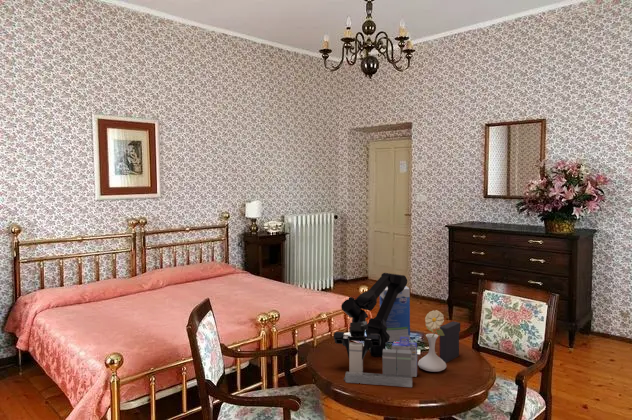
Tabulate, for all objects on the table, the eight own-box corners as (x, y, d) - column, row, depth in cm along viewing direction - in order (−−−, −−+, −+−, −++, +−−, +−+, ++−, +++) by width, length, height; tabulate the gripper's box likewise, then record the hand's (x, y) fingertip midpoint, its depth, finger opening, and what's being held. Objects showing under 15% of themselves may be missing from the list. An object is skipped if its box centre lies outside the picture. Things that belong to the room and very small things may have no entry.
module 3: (397, 380, 183) (397, 349, 182) (411, 381, 182) (411, 350, 181) (397, 384, 180) (397, 352, 179) (411, 385, 179) (410, 353, 178)
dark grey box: (451, 354, 209) (451, 320, 209) (460, 356, 206) (460, 322, 205) (438, 360, 202) (438, 326, 201) (447, 363, 199) (447, 328, 198)
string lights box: (405, 337, 233) (405, 285, 231) (410, 342, 225) (410, 288, 224) (379, 338, 231) (379, 286, 230) (383, 343, 224) (383, 289, 222)
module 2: (383, 379, 184) (383, 348, 183) (396, 380, 183) (396, 349, 182) (382, 383, 181) (382, 352, 180) (396, 384, 180) (396, 352, 179)
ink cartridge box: (417, 371, 191) (417, 336, 190) (417, 377, 185) (417, 341, 184) (392, 370, 193) (392, 335, 192) (391, 375, 187) (391, 339, 186)
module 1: (350, 371, 192) (350, 342, 191) (363, 372, 191) (362, 343, 190) (349, 374, 189) (349, 345, 188) (362, 375, 188) (361, 346, 187)
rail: (345, 375, 188) (345, 366, 188) (412, 380, 183) (412, 371, 183) (342, 382, 182) (342, 373, 182) (412, 387, 176) (412, 378, 176)
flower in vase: (412, 366, 197) (411, 306, 195) (434, 361, 201) (434, 303, 199) (431, 378, 185) (431, 314, 183) (455, 372, 189) (455, 311, 187)
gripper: (334, 312, 194) (329, 348, 184) (380, 314, 190) (378, 351, 180) (337, 325, 202) (333, 360, 192) (381, 327, 199) (379, 363, 188)
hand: (355, 358), depth 188 cm, fingers closed on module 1, 5 cm apart
